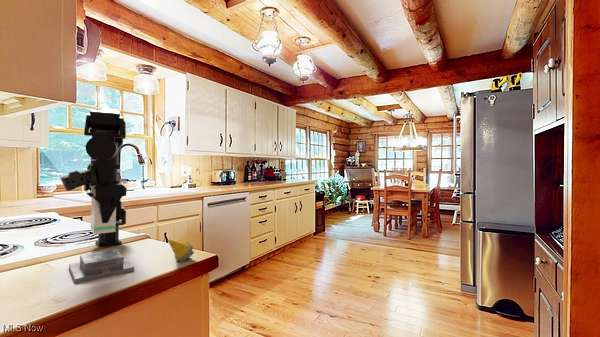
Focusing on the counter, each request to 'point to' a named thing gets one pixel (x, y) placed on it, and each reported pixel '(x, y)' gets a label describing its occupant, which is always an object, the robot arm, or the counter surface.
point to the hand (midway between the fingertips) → (103, 221)
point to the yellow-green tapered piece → (181, 250)
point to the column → (96, 220)
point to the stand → (99, 266)
